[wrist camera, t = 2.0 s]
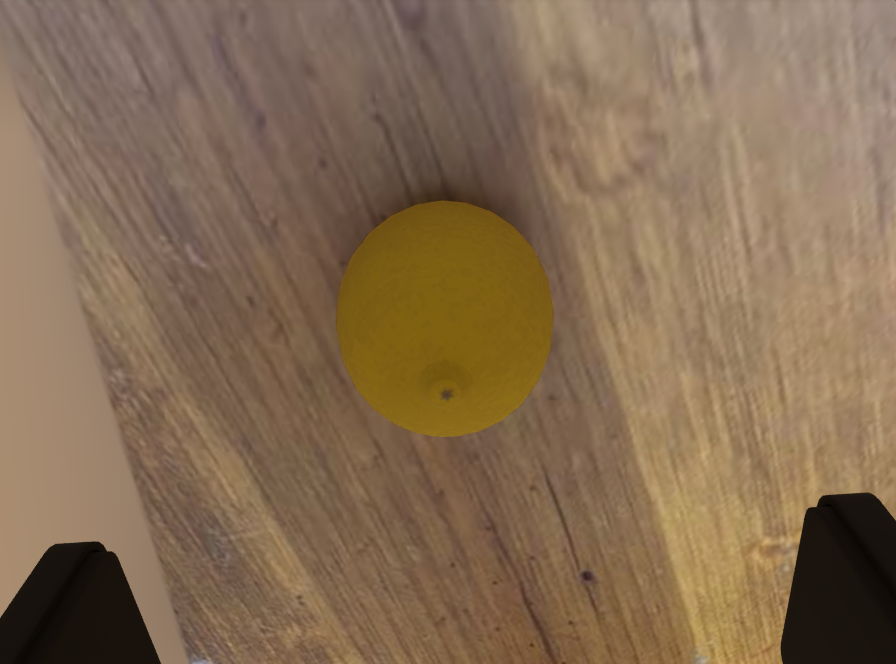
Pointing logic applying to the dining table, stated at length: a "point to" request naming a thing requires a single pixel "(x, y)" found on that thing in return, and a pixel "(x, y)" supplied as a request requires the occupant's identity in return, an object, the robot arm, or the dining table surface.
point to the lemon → (444, 318)
